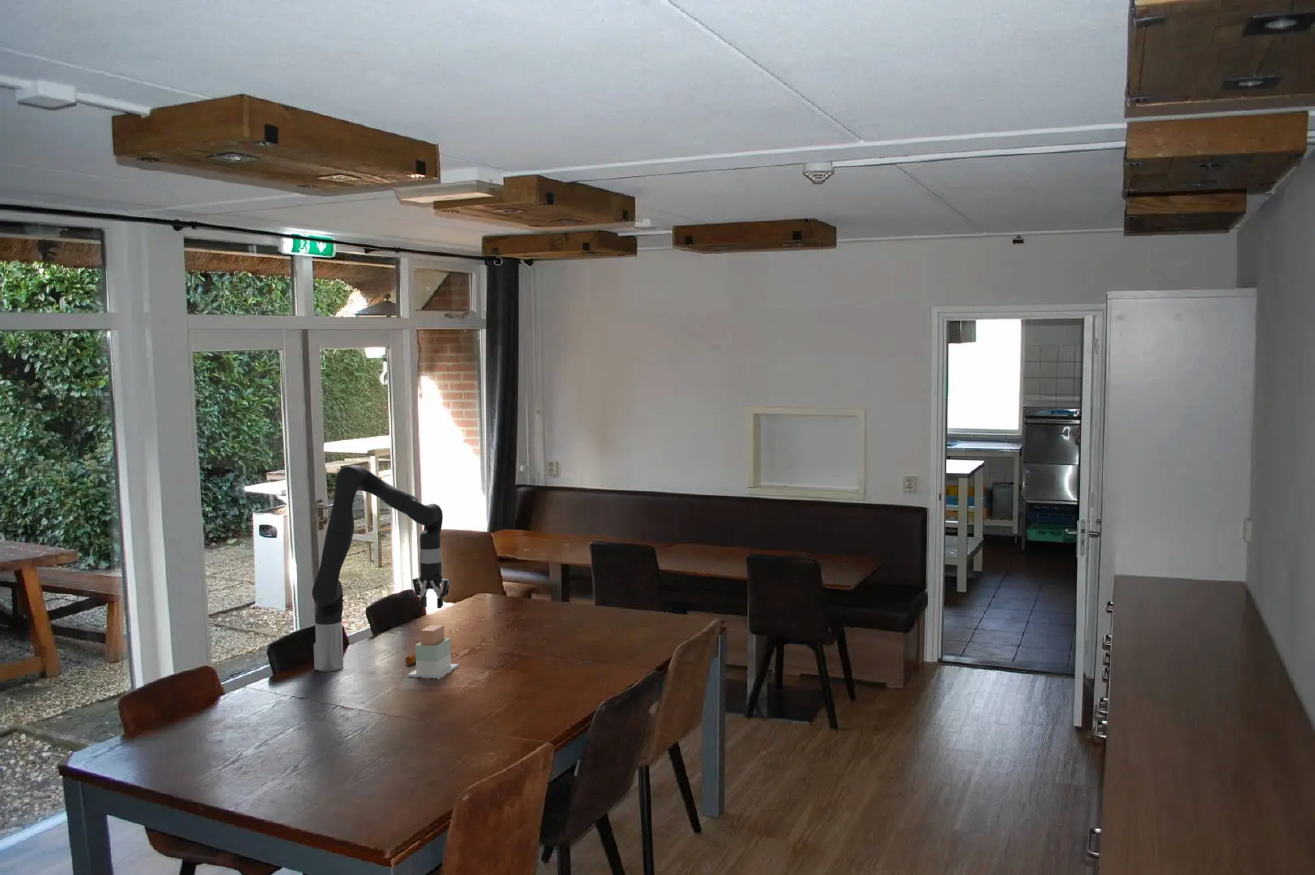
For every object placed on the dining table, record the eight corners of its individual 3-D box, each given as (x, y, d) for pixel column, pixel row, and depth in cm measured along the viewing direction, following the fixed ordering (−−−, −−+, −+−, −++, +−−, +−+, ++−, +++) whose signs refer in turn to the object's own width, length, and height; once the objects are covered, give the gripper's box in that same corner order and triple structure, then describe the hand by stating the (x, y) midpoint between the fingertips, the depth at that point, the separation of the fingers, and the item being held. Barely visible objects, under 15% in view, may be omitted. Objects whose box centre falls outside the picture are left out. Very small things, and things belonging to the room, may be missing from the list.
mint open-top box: (439, 679, 367) (438, 648, 366) (408, 676, 370) (407, 646, 369) (458, 667, 382) (457, 637, 381) (428, 664, 385) (427, 635, 384)
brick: (434, 647, 371) (433, 631, 370) (421, 647, 372) (420, 630, 372) (444, 641, 378) (443, 625, 378) (431, 641, 380) (431, 624, 379)
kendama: (400, 653, 386) (433, 636, 404) (404, 669, 387) (437, 651, 404) (413, 652, 384) (446, 635, 401) (417, 668, 384) (449, 650, 402)
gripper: (453, 559, 375) (455, 606, 376) (417, 557, 378) (418, 604, 380) (444, 563, 367) (445, 611, 369) (407, 561, 371) (408, 609, 372)
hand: (431, 607), depth 374 cm, fingers open, 5 cm apart
